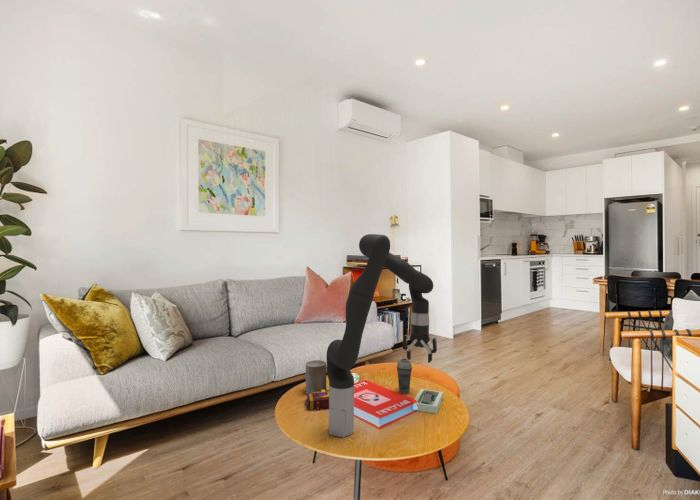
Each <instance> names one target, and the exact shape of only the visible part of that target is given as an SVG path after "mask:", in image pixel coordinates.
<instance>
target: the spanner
mask: <svg viewBox="0 0 700 500" xmlns="http://www.w3.org/2000/svg"><path fill="white" fill-rule="evenodd" d="M425 390H426V391H425V392H424V397H423V399H422V401H421V403H422V404H429V405H431V403H432V401H435V398H436V392H435V391H436V390H432V391H428V390H429V389H425Z"/></svg>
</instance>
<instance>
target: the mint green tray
mask: <svg viewBox="0 0 700 500" xmlns="http://www.w3.org/2000/svg"><path fill="white" fill-rule="evenodd" d="M426 390H428V391H433V390H432V389H431V390H430V389H424V388H420V389H419V391H418V392H417V394H416V396H415V397H414V399H413V401H414V400H416V401H417V402H418V403H416V404H417V407H418V409H417V412H423V413H428V414H434V415H437V414H438V411H439V409H440V407H441V404H442V402H443V400H444V391H437V390H434V391H435V392H436V398H435V401H432V403H431V405H429V404H422V403H421V401H422V399H423V397H424V392H425V391H426Z"/></svg>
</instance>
